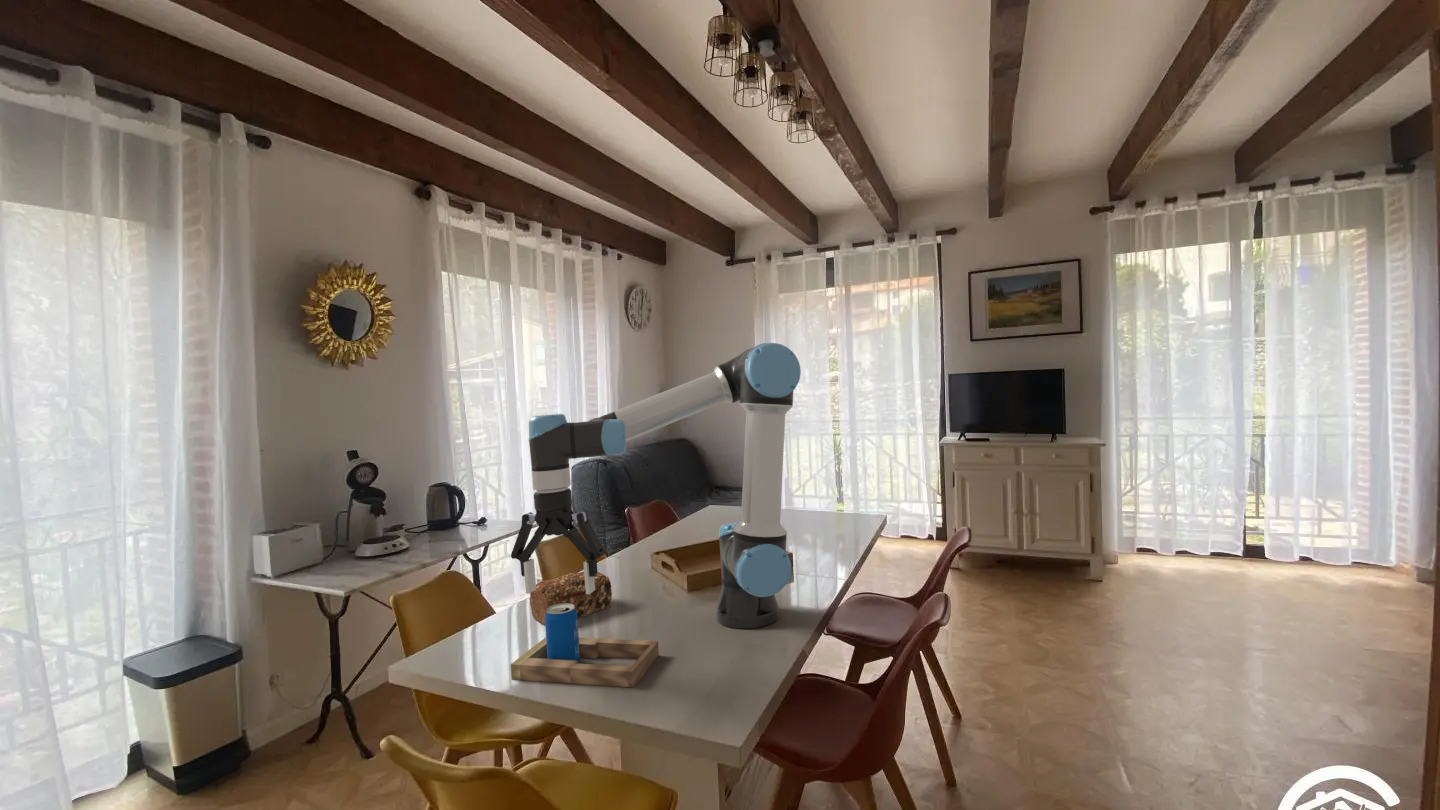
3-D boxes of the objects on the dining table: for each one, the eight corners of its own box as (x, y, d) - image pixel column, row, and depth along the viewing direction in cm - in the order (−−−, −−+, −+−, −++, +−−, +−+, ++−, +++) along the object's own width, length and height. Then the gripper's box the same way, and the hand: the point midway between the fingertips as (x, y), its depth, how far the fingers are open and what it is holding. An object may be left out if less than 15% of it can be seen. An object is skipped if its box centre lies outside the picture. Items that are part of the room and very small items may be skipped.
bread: (546, 629, 147) (544, 588, 147) (529, 618, 155) (526, 579, 155) (614, 608, 159) (612, 570, 158) (595, 599, 167) (592, 563, 167)
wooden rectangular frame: (658, 655, 128) (658, 641, 128) (633, 687, 114) (632, 671, 114) (548, 649, 134) (547, 636, 134) (511, 679, 121) (510, 664, 120)
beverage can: (571, 673, 122) (568, 614, 121) (542, 672, 123) (538, 613, 123) (585, 659, 128) (581, 602, 128) (557, 658, 129) (553, 602, 129)
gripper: (615, 484, 125) (623, 586, 126) (509, 488, 131) (517, 585, 132) (600, 490, 118) (608, 598, 118) (488, 494, 124) (496, 597, 125)
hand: (560, 591), depth 125 cm, fingers open, 13 cm apart
